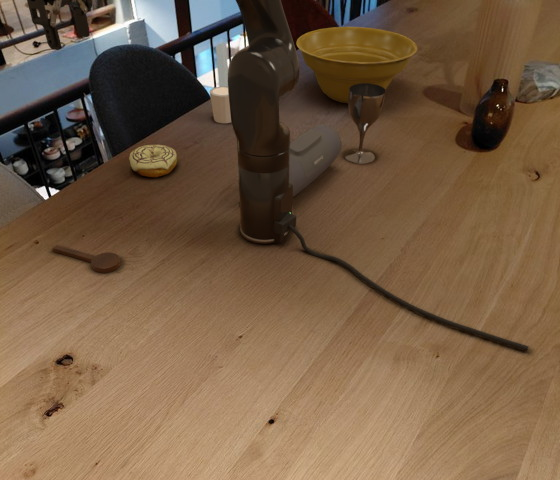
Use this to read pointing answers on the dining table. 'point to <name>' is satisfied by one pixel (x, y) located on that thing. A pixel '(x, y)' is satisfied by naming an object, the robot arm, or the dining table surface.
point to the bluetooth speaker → (312, 155)
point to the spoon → (93, 259)
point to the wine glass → (364, 115)
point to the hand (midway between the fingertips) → (70, 42)
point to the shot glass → (220, 104)
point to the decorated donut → (153, 160)
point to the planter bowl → (354, 57)
